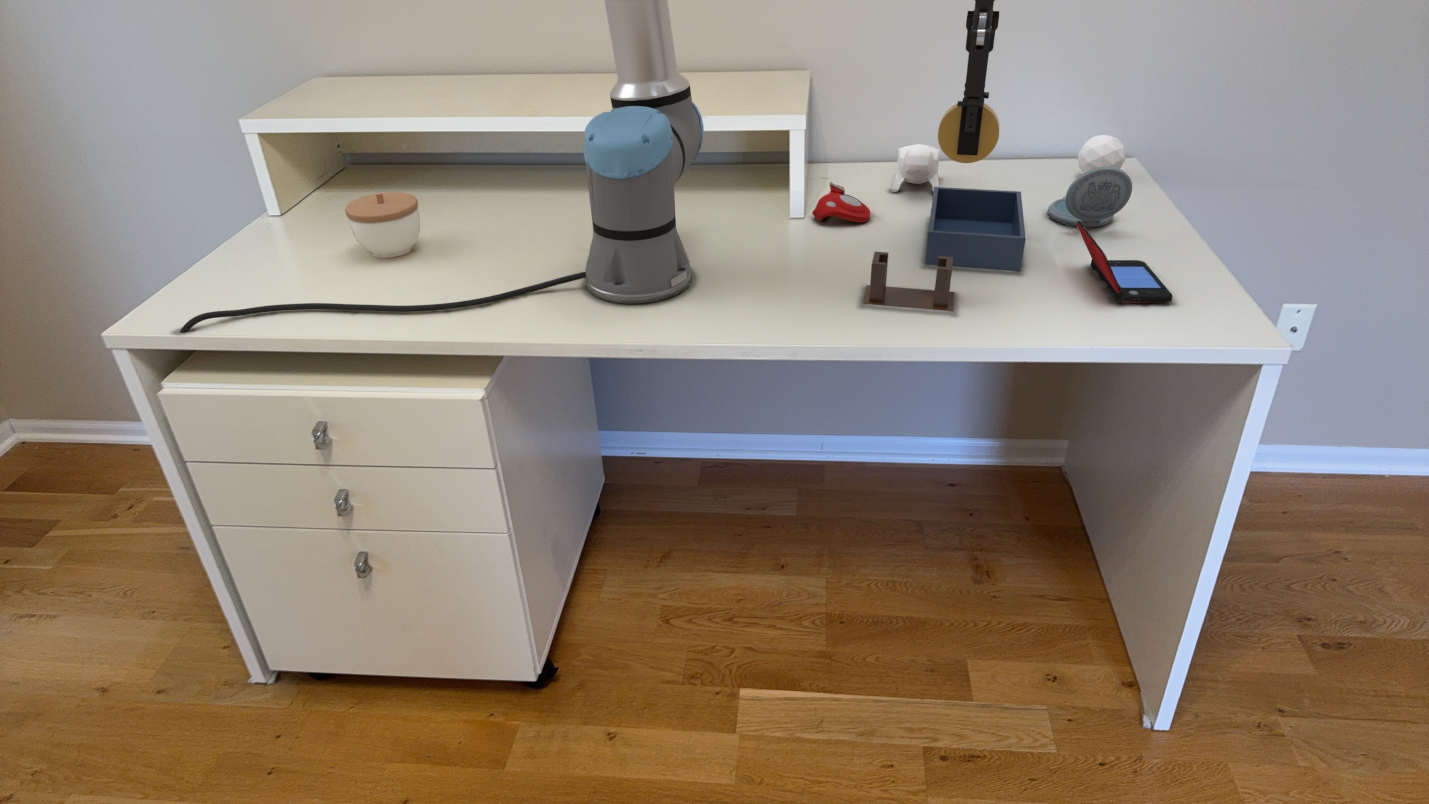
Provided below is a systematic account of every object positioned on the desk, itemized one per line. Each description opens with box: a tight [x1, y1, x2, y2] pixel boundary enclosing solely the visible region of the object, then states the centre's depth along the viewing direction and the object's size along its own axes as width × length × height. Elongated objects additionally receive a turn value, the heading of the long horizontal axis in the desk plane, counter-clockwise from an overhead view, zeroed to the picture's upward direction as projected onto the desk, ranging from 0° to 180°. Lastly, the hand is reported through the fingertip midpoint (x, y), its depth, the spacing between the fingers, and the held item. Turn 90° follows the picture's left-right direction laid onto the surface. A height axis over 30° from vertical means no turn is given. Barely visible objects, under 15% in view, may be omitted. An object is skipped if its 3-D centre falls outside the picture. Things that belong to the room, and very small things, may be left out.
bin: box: [924, 186, 1026, 272], centre depth 138 cm, size 19×13×6 cm
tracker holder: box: [811, 181, 872, 223], centre depth 151 cm, size 12×4×10 cm
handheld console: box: [1077, 221, 1174, 304], centre depth 124 cm, size 12×11×7 cm
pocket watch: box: [1047, 167, 1133, 228], centre depth 144 cm, size 10×11×15 cm
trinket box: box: [344, 191, 421, 259], centre depth 141 cm, size 11×11×9 cm
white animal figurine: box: [890, 143, 942, 193], centre depth 159 cm, size 8×8×15 cm
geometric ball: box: [1077, 133, 1126, 174], centre depth 161 cm, size 8×8×8 cm
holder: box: [861, 251, 955, 312], centre depth 122 cm, size 12×6×6 cm, turn 76°
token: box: [937, 102, 1000, 164], centre depth 123 cm, size 2×8×8 cm, turn 75°
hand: (967, 150), depth 125 cm, fingers closed on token, 2 cm apart
